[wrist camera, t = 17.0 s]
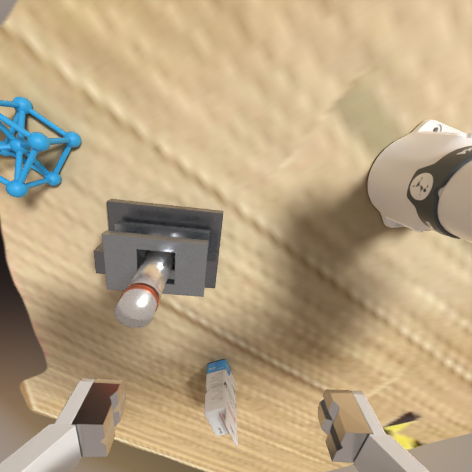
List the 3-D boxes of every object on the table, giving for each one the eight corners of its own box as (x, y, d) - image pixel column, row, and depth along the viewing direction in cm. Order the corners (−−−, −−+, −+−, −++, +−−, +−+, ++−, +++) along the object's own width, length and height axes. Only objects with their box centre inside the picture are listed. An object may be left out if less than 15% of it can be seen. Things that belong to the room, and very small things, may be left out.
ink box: (206, 362, 61) (201, 429, 47) (225, 358, 60) (226, 424, 47) (217, 385, 64) (215, 453, 51) (235, 380, 64) (238, 448, 50)
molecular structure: (61, 187, 43) (16, 202, 34) (0, 149, 40) (-66, 155, 31) (86, 138, 40) (45, 140, 31) (23, 94, 37) (-43, 82, 28)
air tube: (179, 238, 46) (153, 299, 29) (178, 260, 48) (153, 329, 31) (153, 235, 45) (112, 296, 29) (153, 258, 47) (114, 327, 31)
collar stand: (223, 211, 46) (222, 227, 38) (215, 284, 52) (213, 311, 44) (110, 198, 44) (86, 213, 36) (116, 275, 50) (96, 302, 42)
